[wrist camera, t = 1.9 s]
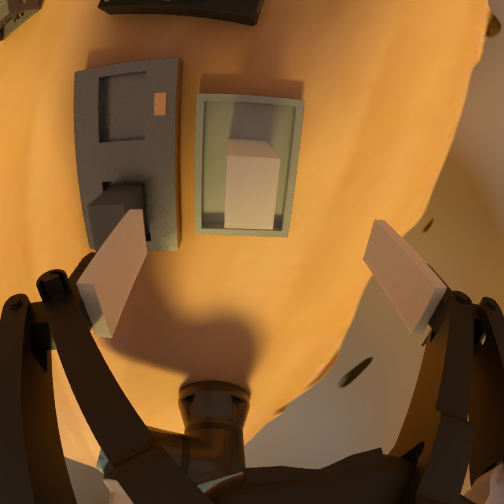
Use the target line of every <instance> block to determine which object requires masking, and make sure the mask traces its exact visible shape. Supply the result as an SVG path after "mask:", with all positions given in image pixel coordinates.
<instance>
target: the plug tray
mask: <svg viewBox="0 0 504 504" xmlns="http://www.w3.org/2000/svg"><path fill="white" fill-rule="evenodd" d="M304 102H305V101H303V100H296V99H288V98H279V97H269V96H257V95H241V94H196V115H195V147H194V228H195V235H229V236H261V237H288V233H289V226H290V219H291V212H292V204H293V197H294V189H295V181H296V174H297V165H298V157H299V149H300V140H301V131H302V122H303V112H304ZM229 139H244V140H261V141H266V142H267V143H268V144H269V146H270V147H271V148H272V149H273V150H274V152H275V153H276V154H277V155H278V156H279V158H280V168H279V177H278V187H277V196H276V205H275V214H274V223H273V230H268V229H240V228H224V222H225V194H226V171H227V152H228V140H229Z"/></svg>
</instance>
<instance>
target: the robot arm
mask: <svg viewBox="0 0 504 504" xmlns="http://www.w3.org/2000/svg"><path fill="white" fill-rule="evenodd" d="M146 255H147V247H146V239H145V230H144V221H143V210H142V209H130V210H129V211H128V212H127V213H126V215H125V216H124V217H123V218H122V220H121V221H120V222H119V223H118V225H117V226H116V227H115V229H114V230H113V231H112V233H111V234H110V235H109V237H108V238H107V239H106V241H105V242H104V243H103V245H102V246H101V248H100V249H99V250H98V252H97V253H93V252H91V253H89V254H88V255H87V256H85V257H84V258H83V259H82V260H81V262H80V263H79V264H78V266H77V267H76V268H75V270H74V271H73V273H72V274H71V276H70V277H69V278H68V277H67V274H66V273H65V271H63V270H61V269H54V270H50V271H48V272H46V273H44V274H42V275H41V276H40V277H39V278H38V280H37V283H36V286H37V289H38V291H39V294H40V296H41V298H42V301H41V302H34V303H30V301H29V298H28V297H27V296H26V295H25V294H16V295H13V296H11V297H10V298H9V299H8V300H7V301H6V302H5V304H4V306H3V310H2V314H1V319H0V504H77V502H76V498H75V495H74V492H73V489H72V485H71V482H70V478H69V475H68V471H67V467H66V463H65V459H64V455H63V450H62V445H61V440H60V435H59V429H58V423H57V416H56V409H55V400H54V391H53V378H52V359H51V350H55V349H57V352H58V355H59V357H60V360H61V363H62V366H63V368H64V371H65V374H66V376H67V379H68V381H69V384H70V386H71V389H72V391H73V393H74V396H75V398H76V400H77V402H78V404H79V407H80V409H81V411H82V413H83V415H84V417H85V419H86V421H87V423H88V425H89V427H90V429H91V431H92V433H93V434H94V436H95V438H96V440H97V442H98V444H99V445H100V447H101V450H100V455H99V458H98V461H97V469H98V470H100V471H101V472H104V478H103V481H104V483H105V484H106V485H107V487H108V488H109V490H110V492H111V493H110V502H109V504H504V316H503V314H502V311H501V309H500V307H499V305H498V304H497V303H496V301H495V300H493V299H492V298H489V297H483V298H482V300H481V302H480V303H479V305H477V304H473V303H472V301H471V300H470V298H469V297H468V296H467V295H466V294H464V293H462V292H460V291H452V290H451V289H450V288H449V287H448V286H447V284H446V283H445V282H444V281H443V280H442V279H441V278H440V277H439V275H438V274H437V273H435V271H434V270H433V268H432V267H431V266H430V265H428V264H427V263H425V262H424V260H423V259H422V258H421V257H420V256H419V255H418V254H417V253H416V252H415V251H414V250H413V249H412V248H411V246H410V245H409V244H408V243H407V242H406V241H405V240H404V239H403V238H402V237H401V236H400V235H399V234H398V233H397V232H396V231H395V230H394V229H393V228H392V227H391V226H390V225H389V224H388V223H387V222H386V221H384V220H374V222H373V226H372V230H371V234H370V237H369V241H368V244H367V248H366V251H365V255H364V258H363V260H364V261H365V263H366V264H367V266H368V267H369V269H370V270H371V272H372V273H373V275H374V276H375V277H376V279H377V281H378V282H379V284H380V285H381V287H382V288H383V290H384V291H385V293H386V294H387V296H388V298H389V299H390V301H391V302H392V304H393V305H394V307H395V309H396V311H397V312H398V314H399V315H400V317H401V319H402V320H403V322H404V323H405V325H406V327H407V329H408V330H409V332H410V334H411V335H414V334H421V333H423V332H424V330H425V328H426V326H427V325H428V324H429V325H430V327H431V328H432V329H431V331H430V332H429V334H428V336H427V337H426V339H425V341H424V342H423V344H422V346H424V345H425V344H426V348H425V352H424V356H423V361H422V365H421V369H420V372H419V376H418V380H417V383H416V387H415V390H414V393H413V397H412V400H411V403H410V406H409V409H408V412H407V415H406V418H405V421H404V423H403V426H402V429H401V431H400V434H399V436H398V439H397V442H396V444H395V446H394V447H393V449H392V450H391V451H390V453H389V454H388V455H385V454H383V452H382V449H381V448H377V449H374V450H370V451H366V452H362V453H358V454H354V455H351V456H349V457H346V458H344V459H342V460H340V461H338V462H336V463H334V464H331V465H330V466H327V467H325V468H322V469H304V468H294V467H286V466H275V467H258V468H246V467H245V454H244V441H243V427H244V424H245V421H246V418H247V415H248V411H249V407H250V403H249V396H248V394H247V392H246V391H244V390H243V389H242V388H240V387H238V386H235V385H232V384H229V383H224V382H216V381H205V382H197V383H193V384H190V385H188V386H186V387H184V388H183V389H182V390H181V391H180V393H179V401H178V404H179V409H180V412H181V416H182V419H183V423H184V426H185V434H180V433H175V432H171V431H166V430H162V429H158V428H154V427H150V426H147V425H145V424H144V422H143V421H142V420H141V418H140V417H139V415H138V414H137V412H136V411H135V409H134V408H133V406H132V405H131V403H130V402H129V400H128V399H127V397H126V396H125V394H124V392H123V391H122V389H121V388H120V386H119V384H118V383H117V381H116V379H115V378H114V376H113V374H112V372H111V371H110V369H109V367H108V365H107V364H106V362H105V360H104V358H103V356H102V354H101V352H100V351H99V349H98V347H97V345H96V343H95V341H94V339H93V337H92V335H91V333H90V330H91V328H93V330H94V333H95V335H96V336H98V337H105V338H112V337H113V334H114V331H115V329H116V326H117V324H118V321H119V318H120V316H121V313H122V311H123V308H124V306H125V303H126V301H127V299H128V296H129V294H130V291H131V289H132V287H133V284H134V282H135V280H136V277H137V275H138V273H139V271H140V268H141V266H142V264H143V262H144V260H145V257H146ZM485 335H486V338H485V342H484V344H483V345H482V342H481V341H482V340H483V338H484V337H485ZM468 414H469V422H468V421H467V418H468ZM468 464H469V469H470V470H469V471H470V483H471V490H469V491H467V492H466V493H465V495H464V496H463V495H461V494H460V493H461V489H462V486H463V483H464V479H465V475H466V472H467V468H468Z"/></svg>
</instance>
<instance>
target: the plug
mask: <svg viewBox="0 0 504 504" xmlns="http://www.w3.org/2000/svg"><path fill="white" fill-rule="evenodd" d="M279 168H280V158H279V156H278V155H277V154H276V153H275V152H274V150H273V149H272V148H271V147H270V146H269V144H268V143H267V142H266V141H261V140H244V139H229V140H228V152H227V171H226V194H225V222H224V228H240V229H268V230H273V223H274V214H275V205H276V196H277V187H278V177H279Z"/></svg>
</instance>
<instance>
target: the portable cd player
mask: <svg viewBox="0 0 504 504" xmlns="http://www.w3.org/2000/svg"><path fill="white" fill-rule="evenodd" d="M263 2H264V0H100V3H99V5H98V8H99V9H101V10H103V11H105V12H106V13H108V14H110V15H112V14H170V15H183V16H194V17H203V18H210V19H217V20H223V21H229V22H235V23H240V24H245V25H250V26H253V25H256V23H257V20H258V17H259V14H260V11H261V8H262V5H263Z"/></svg>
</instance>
